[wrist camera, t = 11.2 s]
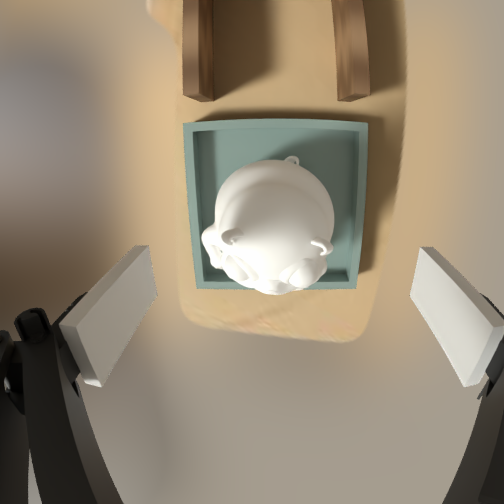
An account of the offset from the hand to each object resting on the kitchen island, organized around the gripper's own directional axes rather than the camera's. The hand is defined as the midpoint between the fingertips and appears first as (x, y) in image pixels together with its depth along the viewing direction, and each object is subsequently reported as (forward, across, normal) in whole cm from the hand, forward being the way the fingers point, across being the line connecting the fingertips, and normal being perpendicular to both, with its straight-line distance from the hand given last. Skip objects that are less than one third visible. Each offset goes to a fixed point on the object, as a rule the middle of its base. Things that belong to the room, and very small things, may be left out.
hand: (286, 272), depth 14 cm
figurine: (+15, -1, -1) cm, 15 cm away
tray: (+16, 0, -1) cm, 16 cm away
